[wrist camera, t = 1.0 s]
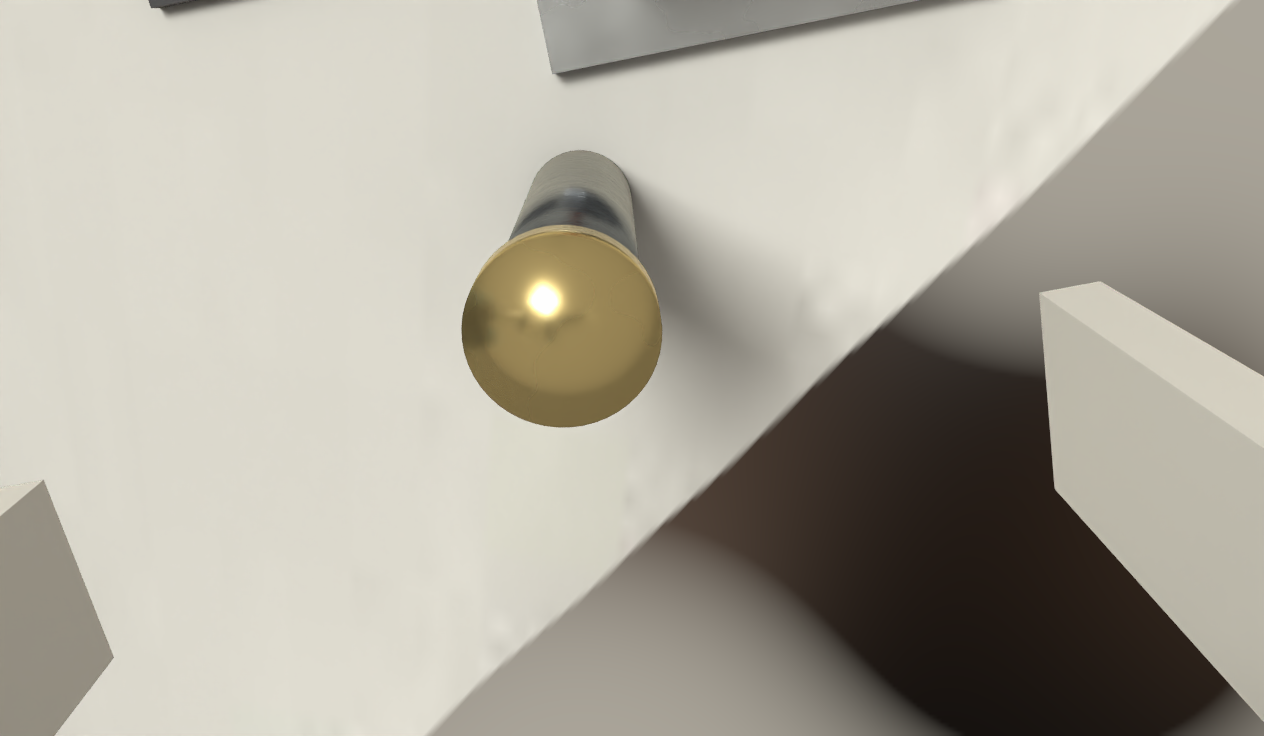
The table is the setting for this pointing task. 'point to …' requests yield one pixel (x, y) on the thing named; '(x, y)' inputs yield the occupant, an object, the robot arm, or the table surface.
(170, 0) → the mat
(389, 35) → the table surface
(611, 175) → the gold capped cylinder
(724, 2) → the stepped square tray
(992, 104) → the table surface
